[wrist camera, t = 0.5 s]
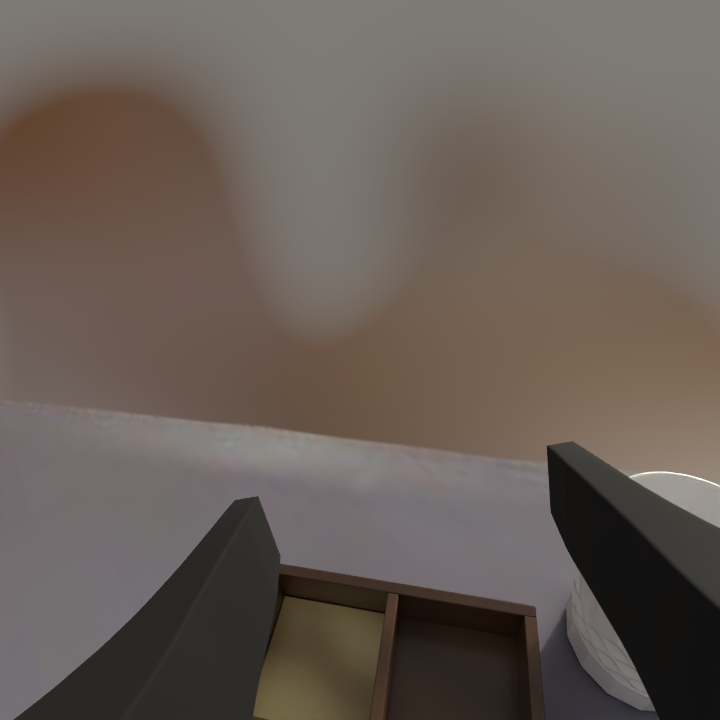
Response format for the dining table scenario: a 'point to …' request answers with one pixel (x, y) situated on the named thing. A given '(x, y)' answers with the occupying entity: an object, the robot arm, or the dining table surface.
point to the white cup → (587, 619)
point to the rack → (396, 653)
